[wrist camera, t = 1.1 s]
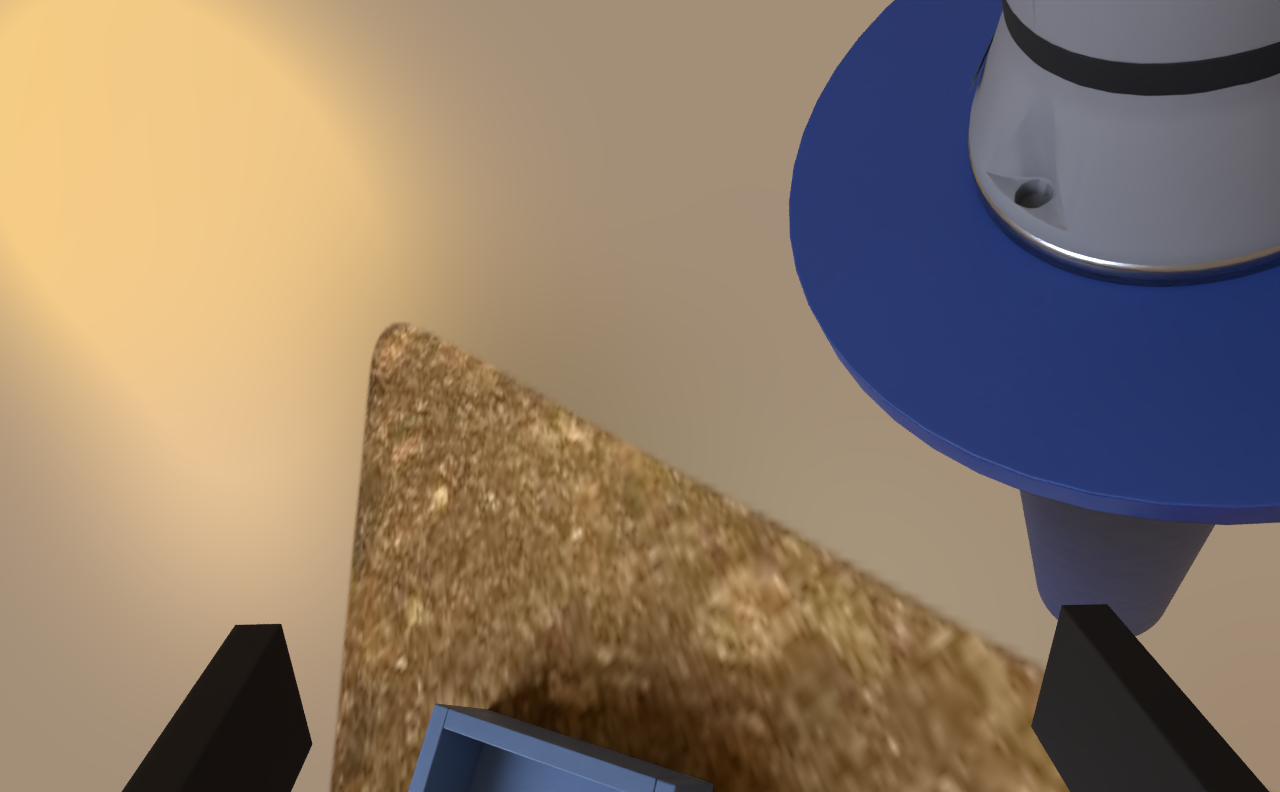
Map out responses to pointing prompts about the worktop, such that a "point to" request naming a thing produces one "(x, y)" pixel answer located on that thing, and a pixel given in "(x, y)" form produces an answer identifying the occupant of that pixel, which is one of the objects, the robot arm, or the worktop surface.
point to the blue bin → (528, 759)
